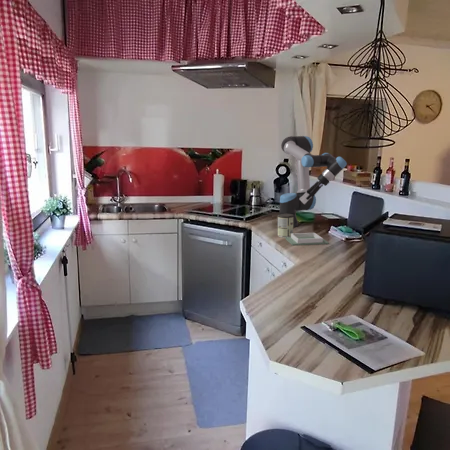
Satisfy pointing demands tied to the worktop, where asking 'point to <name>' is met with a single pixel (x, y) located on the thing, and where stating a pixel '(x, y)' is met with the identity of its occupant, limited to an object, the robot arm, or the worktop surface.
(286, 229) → the coffee can
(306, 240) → the mount plate
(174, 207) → the worktop surface
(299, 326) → the worktop surface
